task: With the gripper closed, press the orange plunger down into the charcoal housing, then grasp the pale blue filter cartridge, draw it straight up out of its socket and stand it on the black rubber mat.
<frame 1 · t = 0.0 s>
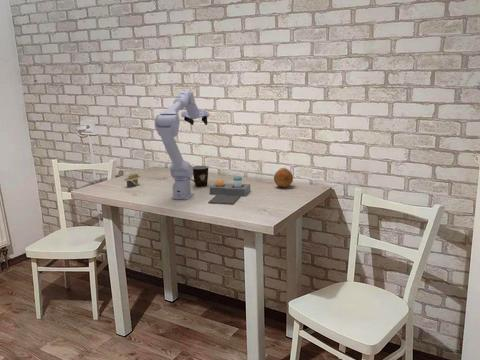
hand: (199, 123, 241), 32 cm above the table, tool tilted 50°, fingers open, 7 cm apart
onion: (283, 187, 235), on the table
housing: (230, 192, 227), on the table
coffee mug: (198, 186, 243), on the table
cartridge: (238, 193, 226), resting in housing
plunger: (220, 184, 227), point 4 cm above the table, slide at 0.0 cm
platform: (133, 187, 247), on the table
mat: (224, 200, 215), on the table
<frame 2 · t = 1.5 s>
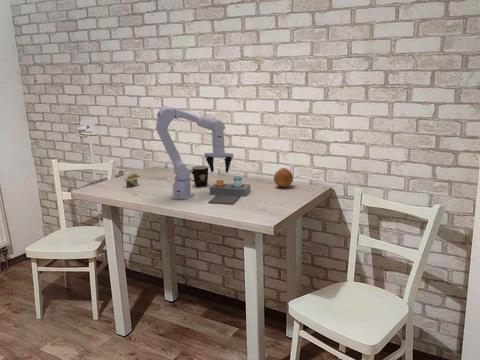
hand: (219, 171, 226), 11 cm above the table, tool pointing down, fingers open, 7 cm apart
nothing on the table moved.
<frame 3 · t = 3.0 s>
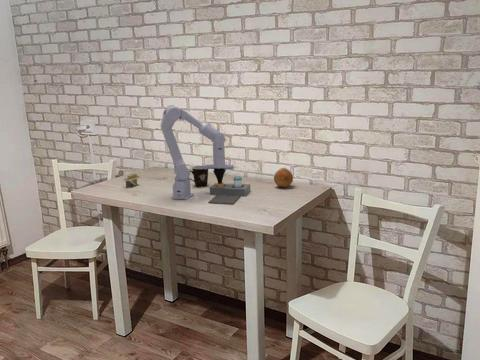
hand: (220, 183, 227), 5 cm above the table, tool pointing down, fingers closed, pressing on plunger
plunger: (220, 187, 228), point 3 cm above the table, slide at 1.3 cm, touching gripper
everything else where it was.
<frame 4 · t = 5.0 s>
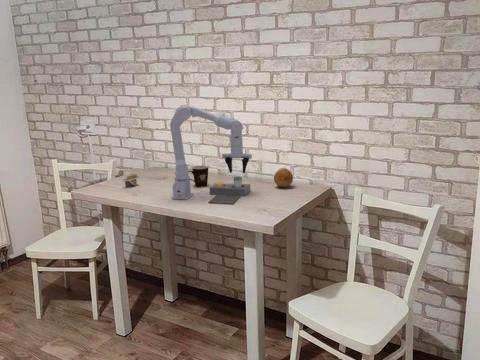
hand: (237, 172, 223), 10 cm above the table, tool pointing down, fingers open, 6 cm apart
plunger: (220, 187, 228), point 3 cm above the table, slide at 1.3 cm
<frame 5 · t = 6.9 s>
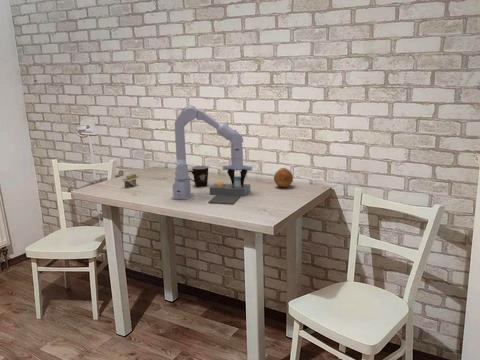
hand: (237, 184, 225), 4 cm above the table, tool pointing down, fingers closed on cartridge, 4 cm apart
cartridge: (238, 193, 226), resting in housing, touching gripper
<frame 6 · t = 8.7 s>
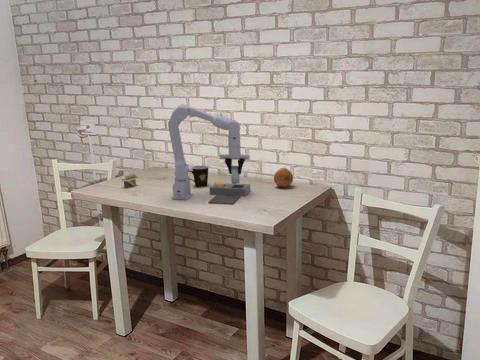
hand: (235, 173, 222), 10 cm above the table, tool pointing down, fingers closed on cartridge, 4 cm apart
cartridge: (235, 182, 223), point 6 cm above the table, touching gripper
when the fingers open (6 cm above the table, at t = 10.9 s): cartridge drops 1 cm, resting on mat.
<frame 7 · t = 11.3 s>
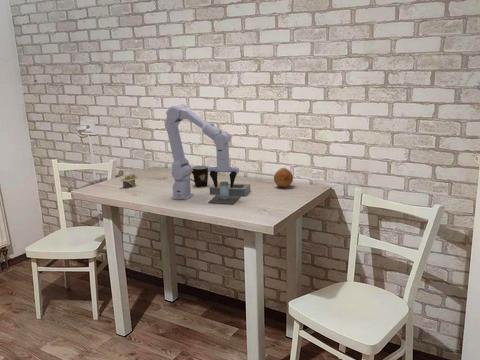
hand: (224, 187, 213), 6 cm above the table, tool pointing down, fingers open, 7 cm apart
cartridge: (224, 198, 215), point 1 cm above the table, touching mat
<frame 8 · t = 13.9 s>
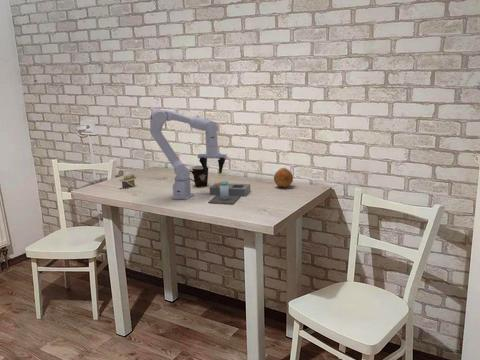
hand: (213, 172, 225), 10 cm above the table, tool pointing down, fingers open, 7 cm apart
at the end: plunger slide at 1.3 cm; cartridge inside the target area on the mat (0.1 cm from its centre), point 0.6 cm above the mat's base; cartridge tilted 0° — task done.
